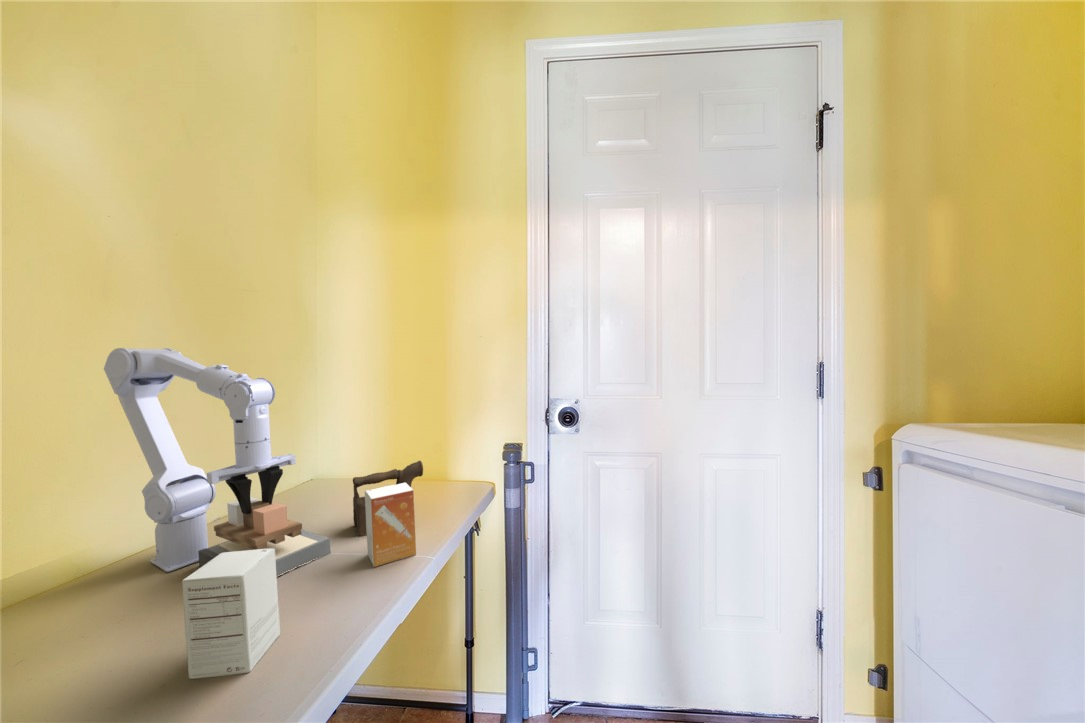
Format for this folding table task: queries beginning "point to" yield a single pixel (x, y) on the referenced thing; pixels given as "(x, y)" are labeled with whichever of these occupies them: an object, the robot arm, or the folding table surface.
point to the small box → (390, 523)
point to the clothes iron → (400, 475)
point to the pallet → (253, 539)
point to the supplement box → (231, 612)
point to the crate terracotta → (270, 518)
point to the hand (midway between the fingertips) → (256, 509)
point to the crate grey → (237, 512)
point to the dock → (279, 550)
